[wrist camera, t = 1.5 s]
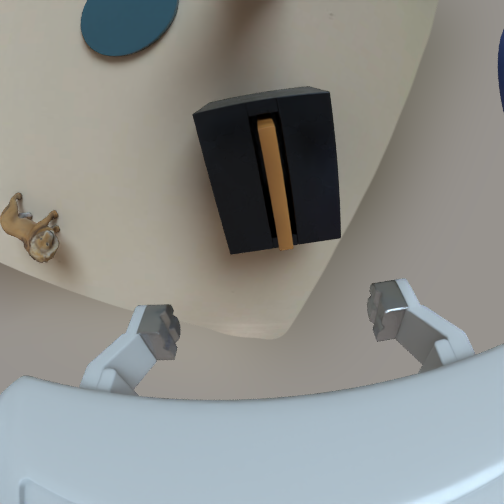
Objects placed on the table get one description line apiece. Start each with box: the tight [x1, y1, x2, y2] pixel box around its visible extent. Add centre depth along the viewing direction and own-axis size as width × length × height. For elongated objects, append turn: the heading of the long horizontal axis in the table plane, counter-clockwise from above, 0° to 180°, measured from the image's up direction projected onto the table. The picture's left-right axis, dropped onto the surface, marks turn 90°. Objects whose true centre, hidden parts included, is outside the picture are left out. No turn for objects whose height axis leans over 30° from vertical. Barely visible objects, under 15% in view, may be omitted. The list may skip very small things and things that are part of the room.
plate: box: [81, 0, 179, 56], centre depth 20 cm, size 12×12×1 cm
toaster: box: [193, 86, 341, 255], centre depth 28 cm, size 11×15×9 cm
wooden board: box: [257, 113, 293, 251], centre depth 26 cm, size 1×10×10 cm, turn 10°
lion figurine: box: [0, 193, 60, 263], centre depth 32 cm, size 15×5×9 cm, turn 69°
